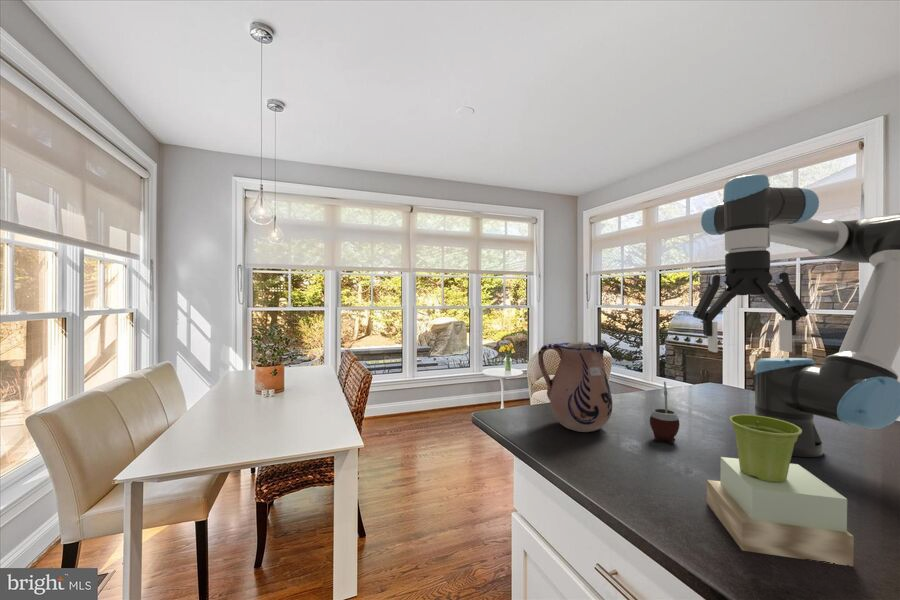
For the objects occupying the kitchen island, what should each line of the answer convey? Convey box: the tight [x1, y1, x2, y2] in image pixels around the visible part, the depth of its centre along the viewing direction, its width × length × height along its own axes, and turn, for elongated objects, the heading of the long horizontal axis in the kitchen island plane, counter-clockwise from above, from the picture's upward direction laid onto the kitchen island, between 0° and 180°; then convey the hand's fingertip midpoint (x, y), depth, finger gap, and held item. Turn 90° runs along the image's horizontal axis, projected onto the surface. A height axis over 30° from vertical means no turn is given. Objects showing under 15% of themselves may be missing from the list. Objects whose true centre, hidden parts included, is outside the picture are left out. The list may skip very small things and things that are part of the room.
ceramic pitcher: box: [537, 341, 613, 433], centre depth 115 cm, size 18×21×25 cm
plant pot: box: [729, 414, 802, 482], centre depth 65 cm, size 9×9×9 cm
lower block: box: [706, 479, 855, 567], centre depth 65 cm, size 14×14×5 cm
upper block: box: [719, 456, 848, 532], centre depth 64 cm, size 12×12×5 cm
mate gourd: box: [649, 381, 680, 446], centre depth 105 cm, size 8×8×15 cm
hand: (748, 351), depth 81 cm, fingers open, 13 cm apart
